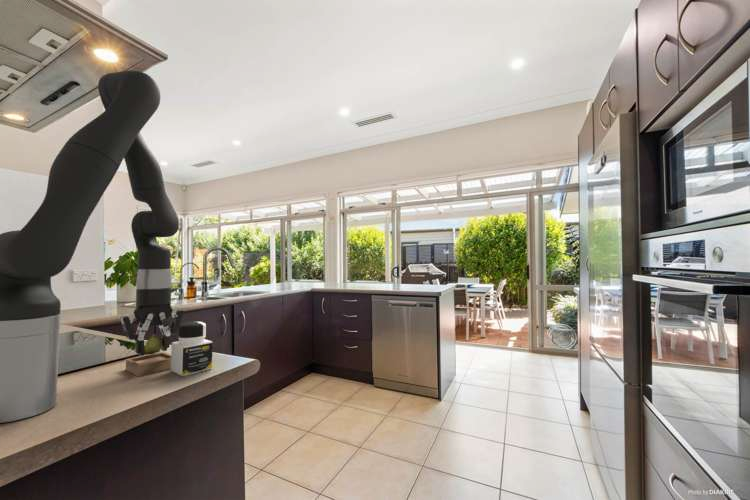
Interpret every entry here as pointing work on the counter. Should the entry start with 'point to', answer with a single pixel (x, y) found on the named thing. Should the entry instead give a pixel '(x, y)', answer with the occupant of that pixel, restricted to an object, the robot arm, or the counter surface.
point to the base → (148, 364)
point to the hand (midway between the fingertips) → (152, 352)
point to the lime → (153, 344)
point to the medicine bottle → (191, 350)
